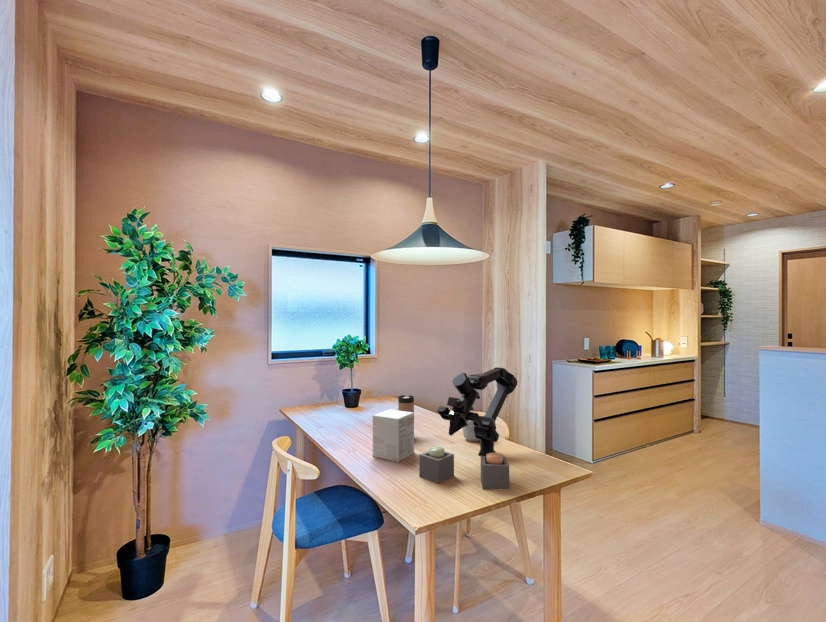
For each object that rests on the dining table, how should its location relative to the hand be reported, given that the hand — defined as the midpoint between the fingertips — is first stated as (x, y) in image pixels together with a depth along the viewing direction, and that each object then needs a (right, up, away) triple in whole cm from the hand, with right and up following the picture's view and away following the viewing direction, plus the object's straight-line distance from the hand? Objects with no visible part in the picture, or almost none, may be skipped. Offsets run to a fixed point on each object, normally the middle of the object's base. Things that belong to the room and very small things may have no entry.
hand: (449, 434), depth 156 cm
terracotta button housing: (+14, -13, -13) cm, 24 cm away
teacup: (+16, -14, +40) cm, 45 cm away
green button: (-5, -6, -6) cm, 10 cm away
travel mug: (-17, -14, +41) cm, 47 cm away
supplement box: (-22, -14, +18) cm, 32 cm away
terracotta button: (+14, -6, -13) cm, 20 cm away
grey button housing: (-5, -13, -6) cm, 16 cm away
